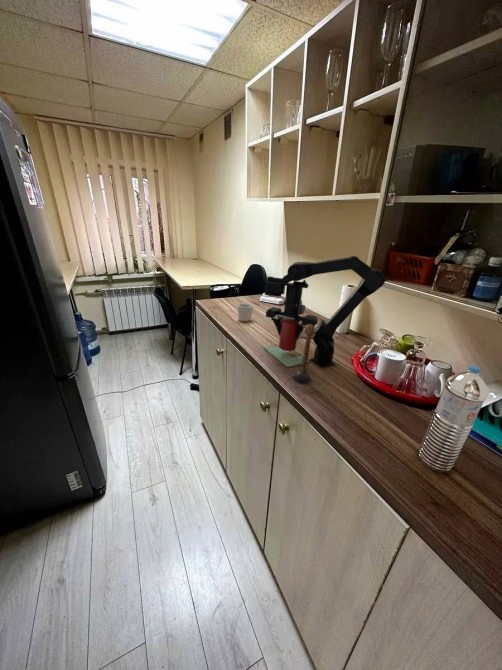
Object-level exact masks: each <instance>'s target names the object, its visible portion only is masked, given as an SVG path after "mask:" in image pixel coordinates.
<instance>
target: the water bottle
mask: <svg viewBox="0 0 502 670" xmlns="http://www.w3.org/2000/svg"><path fill="white" fill-rule="evenodd" d="M481 371H482V368H480V367H479V366H477V365H474V364H473V365H468V369H467V371H464V372H463V371H462V372H458V373H455V374H453V375H451V376H449V377H448V378H447V379H446V381H445V384H444V389H443V391H442V393H441V396H440V398H439V401H438V402H437V406H436V407H435V409H434V411H433V414H432V416H431V418H430V421H429V423H428V426H427V428H426V431H425V433H424V435H423V438H422V440H421V443H420V445H419V448H418V452H417V456H418V459H419V460H420V462H421V463H422V464H423V465H424V466H425V467H426V468H428V469H429V470H431V471H434V472H436V473H440V474H446V473H449V472H450V471H452V469H453V467H454V466H455V464H456V461H457V460H458V458H459V455H460V454H461V452H462V449H463V447H464V445H465V443H466V441H467V439H468V437H469V435H470V432H471V431H472V429H473V428H474V427H473V426H474V423H475V421H476V419H477V416H478V415H479V413H480V411H481V408H482V406H483V404H484V402H485V401H486V400H487V398H488V396H489V390H488V387H487V384H486V382H485V381H484V380H483V378H482V377H480V376H479V375H480V373H481Z"/></svg>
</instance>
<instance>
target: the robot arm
mask: <svg viewBox="0 0 502 670" xmlns="http://www.w3.org/2000/svg"><path fill="white" fill-rule="evenodd" d="M348 270H349V271H350V270H352V271H353V272H354V273H355V274H357V275H358V276H359V277H360V278H361V279H360V280H359V282H358V284H357V286H356V288H355V290H354V291H353V292H352V293H351V294H350V296H348V297H347V299H346V300H345V301H344V302H343V303H341V305H340V306H339V307H338V309H337V310H336V311H335V312H334V313H333V314H332V315H331V316H330V318H329V319H327V320H326V321H324V320H323V319H321V320H320V321H319V323H318V320H319V319H318V316H316V315H311V314H306V315H304V316H302V314H305V310H306V305H304V304H303V300H302V296H303V289H308V288H309V283H307V281H306V280H305V279H307V278H310V277H312V276H316V275H322V274H329V273H335V272H343V271H348ZM266 279H267V280H266V283H265V287H264V296H269V297H270V296H271V297H278V298H281V297H282V295H283V296H284V295H285V298H284V301H283V302H282V303H283V305H284V307H283V311H282V308H280V307H276V306H272V307H269V308H268V309H267V310H266V311H265V317H266V318H269V319H270V321H272V322H273V324H274V326H275V328H276V330H277V333H278V336H279V337H280V331H281V322H282V319H283V318H288V319H292V320H296V321H300V324H299V325H298V326H297V333H296V340H297V341H298V340H299V338H301V337H300V335H301V333H302V331H303V329H304V328H303V325H308V324H312V325H313V326H315V325H316V324H317V326H316V327H315V333H314V336H313V337H312V340H313V343H314V344H315V349H314V355H313V357H312V358H311V359H310V361H312V362H313V363H315V364H316V365H318V366H319V367H320V368H325V367H329V366H333V365H335V363H336V362H334V361H333V358H334V354H335V339H334V335H335V333H336V331H337V330H338V328H339V327H340V326H341V325H342V323H343V322H344V321H346V319H348V317H349V316H350V315H352V313H353V312H354V310H355V309H357V307H358V306H359V305H360V304H361V303H362V302H363V301H364V300H365V299H367V297H369V296H371V295H372V294H374V293H375V292H377V291H378V290H380V289H381V288H382V287H383V286H384V285H385V283H386V276H385V274H384V272H382V271H381V270H380V269H379V268H377V267H371V266H370V265H368V264H367V263H365V262H364V261H362V260H361V259H360V258H359V257H358V256H356V255H351V256H347V257H342V258H336V259H328V260H322V261H317V262H308V261H296V262H293V263H292V264H291V265H290V266H289V267H288V268H287V273H286V275H284V276H282V277H275V276H272V275H271V276H270V275H269V276H268V277H267V278H266Z"/></svg>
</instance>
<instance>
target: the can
mask: <svg viewBox="0 0 502 670" xmlns="http://www.w3.org/2000/svg"><path fill="white" fill-rule="evenodd" d="M298 325H299V321H296V320H292V319H288V318H283V319H282V322H281V331H280V336H279V340H278V341H279V342H278V347H279V348H280V349H282V350H284V351H285V352H293V351H295V350H297V344H298V340H296V333H297V326H298Z"/></svg>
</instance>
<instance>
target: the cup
mask: <svg viewBox="0 0 502 670" xmlns="http://www.w3.org/2000/svg"><path fill="white" fill-rule="evenodd" d="M253 311H254V304H252V303H248V302H240V303H238V304H237V318H238V320H239V321H240V322H250V321H251V319H252V316H253Z"/></svg>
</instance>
